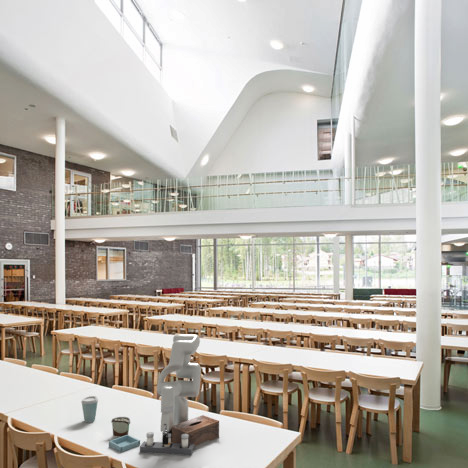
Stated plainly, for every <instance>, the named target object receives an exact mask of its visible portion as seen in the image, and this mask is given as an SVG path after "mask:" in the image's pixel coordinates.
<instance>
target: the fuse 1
mask: <svg viewBox="0 0 468 468" xmlns="http://www.w3.org/2000/svg"><path fill="white" fill-rule="evenodd" d="M154 435H155V434H154V432H153V431H148V432H146V442H147V446H149V447H153V442H154Z"/></svg>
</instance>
